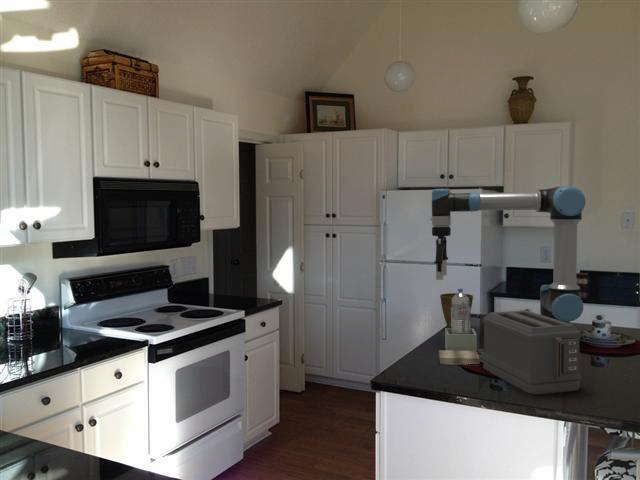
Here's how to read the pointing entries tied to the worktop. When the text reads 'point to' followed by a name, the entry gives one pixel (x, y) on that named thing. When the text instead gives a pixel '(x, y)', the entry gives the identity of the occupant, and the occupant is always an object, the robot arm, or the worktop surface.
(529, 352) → the toaster
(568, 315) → the robot arm
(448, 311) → the plant pot
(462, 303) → the water bottle
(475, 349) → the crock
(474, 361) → the board
